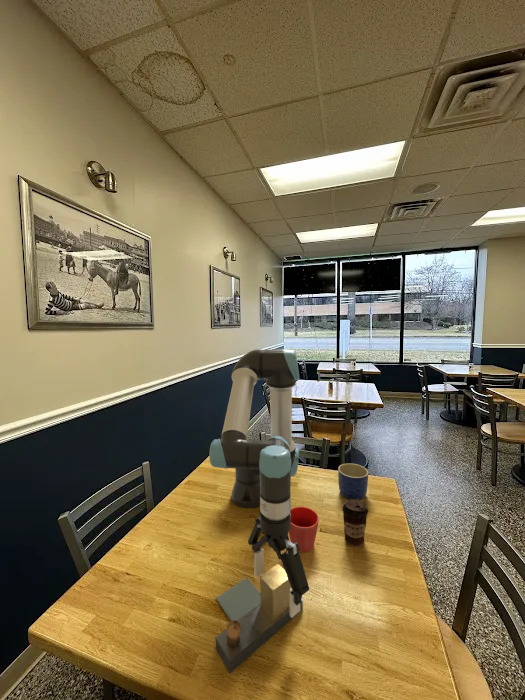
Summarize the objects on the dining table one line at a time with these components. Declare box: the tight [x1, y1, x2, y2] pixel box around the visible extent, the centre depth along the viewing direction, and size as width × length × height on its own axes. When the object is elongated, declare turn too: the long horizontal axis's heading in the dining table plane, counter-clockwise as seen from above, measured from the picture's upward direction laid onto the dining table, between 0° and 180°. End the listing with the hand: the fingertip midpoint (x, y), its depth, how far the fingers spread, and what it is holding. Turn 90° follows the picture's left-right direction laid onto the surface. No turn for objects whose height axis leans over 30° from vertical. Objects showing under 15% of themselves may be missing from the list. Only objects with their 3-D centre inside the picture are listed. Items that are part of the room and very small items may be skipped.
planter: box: [337, 463, 369, 500], centre depth 125 cm, size 12×12×11 cm
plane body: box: [214, 584, 304, 675], centre depth 70 cm, size 22×6×7 cm, turn 128°
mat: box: [215, 577, 260, 622], centre depth 77 cm, size 10×10×1 cm
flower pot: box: [288, 506, 320, 553], centre depth 97 cm, size 11×11×10 cm
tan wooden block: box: [259, 563, 291, 621], centre depth 72 cm, size 6×5×8 cm
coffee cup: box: [342, 499, 369, 548], centre depth 98 cm, size 9×8×13 cm
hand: (275, 592), depth 72 cm, fingers open, 13 cm apart
